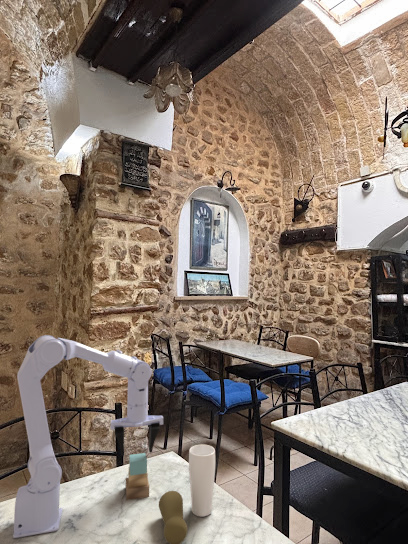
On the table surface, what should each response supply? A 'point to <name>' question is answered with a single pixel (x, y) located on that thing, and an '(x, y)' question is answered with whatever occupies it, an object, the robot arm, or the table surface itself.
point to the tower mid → (138, 480)
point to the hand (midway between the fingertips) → (136, 452)
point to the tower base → (136, 491)
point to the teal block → (138, 464)
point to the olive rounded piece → (173, 517)
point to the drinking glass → (202, 478)
